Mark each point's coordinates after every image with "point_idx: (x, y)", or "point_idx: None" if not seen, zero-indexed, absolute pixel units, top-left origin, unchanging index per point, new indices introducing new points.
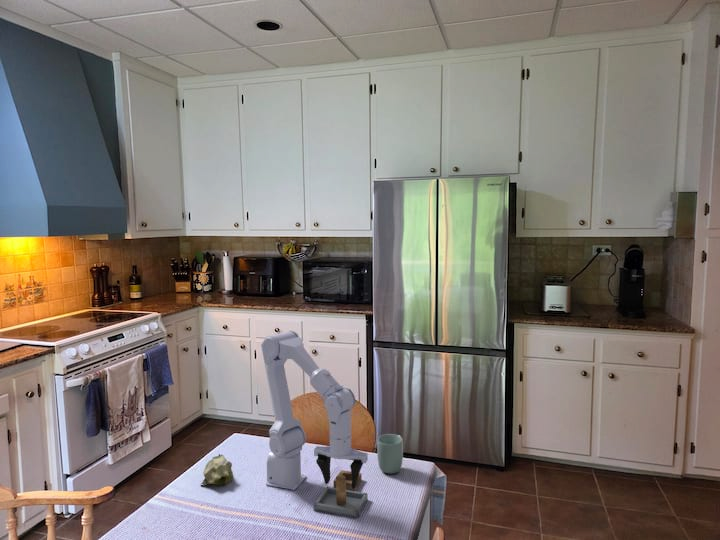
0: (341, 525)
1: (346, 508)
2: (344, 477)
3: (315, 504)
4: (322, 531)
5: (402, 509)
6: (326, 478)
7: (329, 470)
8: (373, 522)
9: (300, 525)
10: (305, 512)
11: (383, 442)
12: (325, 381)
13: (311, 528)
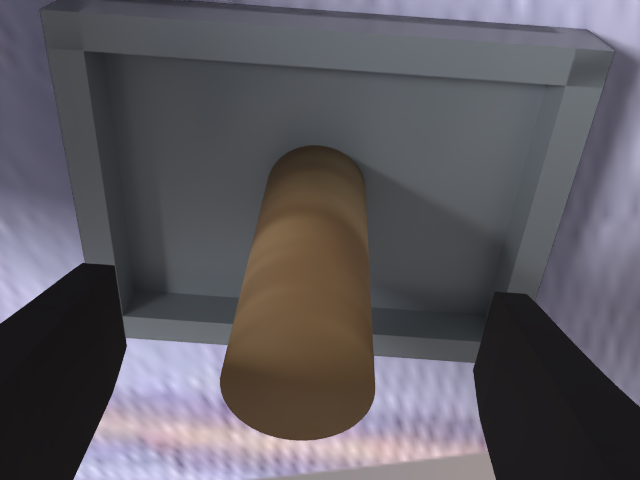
0: (392, 403)
1: (408, 342)
2: (351, 375)
3: None
4: (284, 462)
5: None
6: (96, 424)
7: (44, 370)
8: (636, 342)
9: (120, 439)
10: None
11: None
12: None
13: (203, 451)
